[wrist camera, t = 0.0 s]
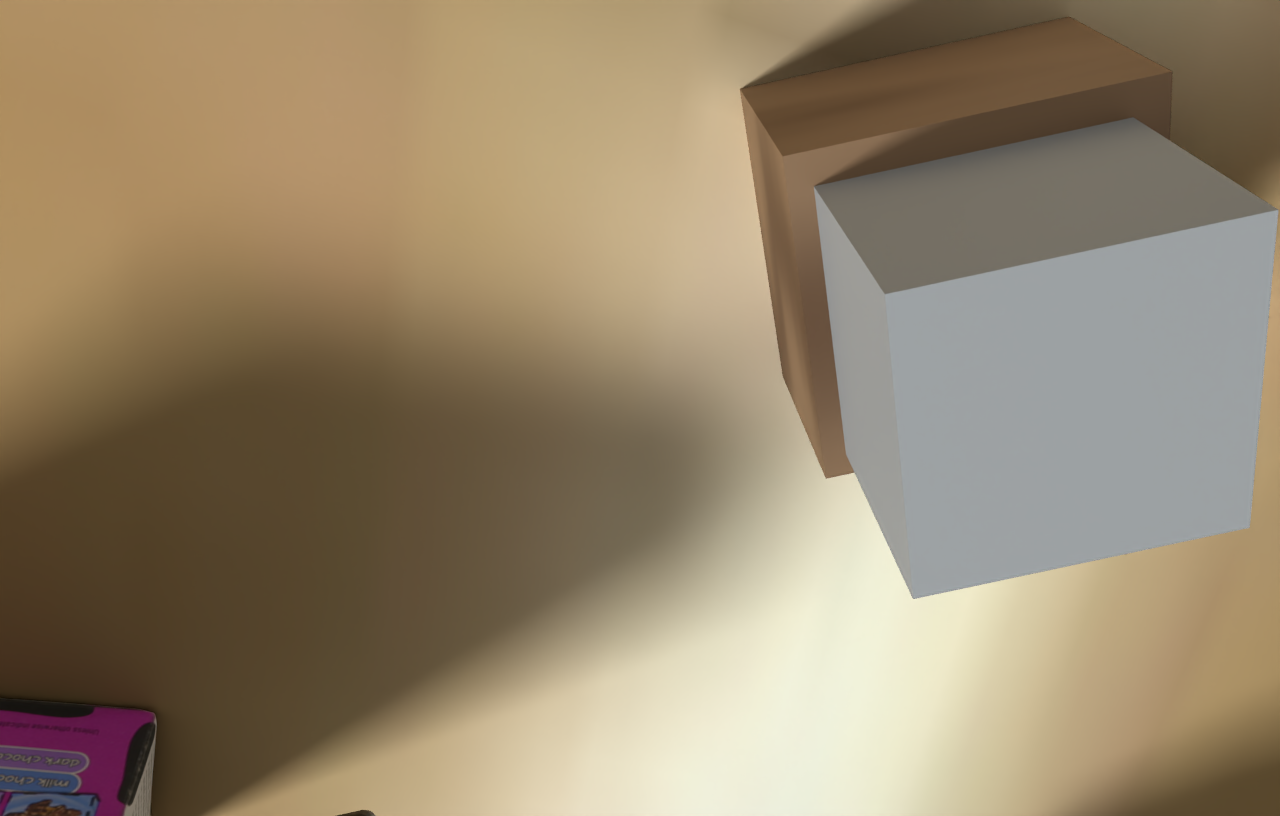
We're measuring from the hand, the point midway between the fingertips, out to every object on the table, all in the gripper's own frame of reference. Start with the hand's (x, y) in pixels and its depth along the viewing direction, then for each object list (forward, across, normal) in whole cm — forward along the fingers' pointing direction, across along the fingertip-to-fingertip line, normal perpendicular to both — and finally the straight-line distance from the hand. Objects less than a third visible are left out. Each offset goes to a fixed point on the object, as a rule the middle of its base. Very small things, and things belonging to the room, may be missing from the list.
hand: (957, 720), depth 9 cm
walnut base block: (+15, -4, +2) cm, 16 cm away
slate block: (+11, -4, +2) cm, 12 cm away
